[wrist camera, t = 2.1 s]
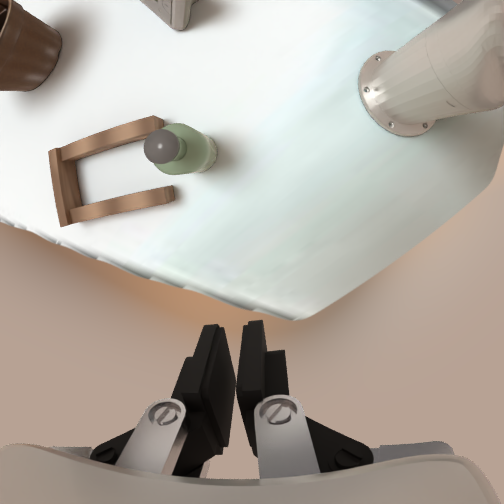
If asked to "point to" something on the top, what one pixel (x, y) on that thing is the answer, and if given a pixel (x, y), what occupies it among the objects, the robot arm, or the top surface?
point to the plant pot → (25, 48)
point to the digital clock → (171, 11)
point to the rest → (111, 138)
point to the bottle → (180, 150)
